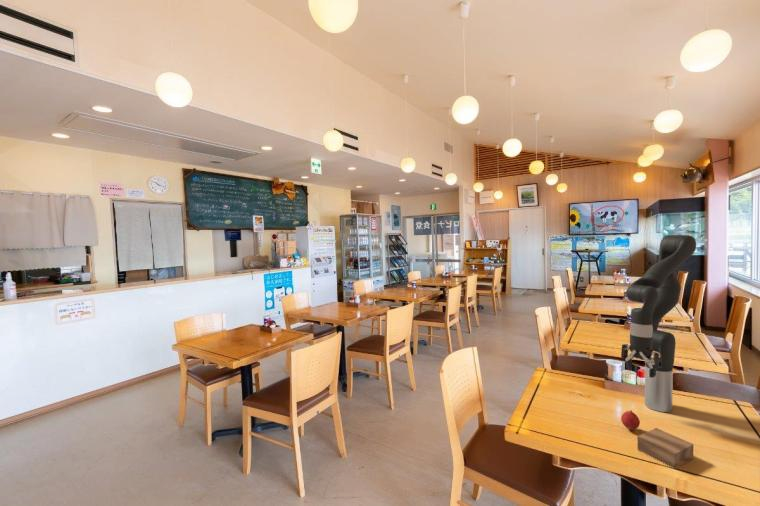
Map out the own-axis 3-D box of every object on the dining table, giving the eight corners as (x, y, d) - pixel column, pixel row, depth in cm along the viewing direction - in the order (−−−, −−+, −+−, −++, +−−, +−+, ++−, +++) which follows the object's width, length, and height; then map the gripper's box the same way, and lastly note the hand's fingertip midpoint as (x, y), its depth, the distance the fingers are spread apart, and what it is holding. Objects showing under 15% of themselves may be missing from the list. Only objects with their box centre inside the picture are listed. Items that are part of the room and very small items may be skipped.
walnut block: (655, 441, 127) (656, 427, 127) (693, 458, 117) (693, 444, 117) (637, 450, 123) (637, 436, 122) (674, 468, 113) (674, 453, 112)
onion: (617, 426, 137) (617, 406, 137) (631, 425, 138) (631, 405, 137) (629, 434, 132) (629, 414, 131) (643, 433, 132) (643, 413, 132)
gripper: (666, 337, 138) (665, 378, 139) (629, 329, 151) (628, 366, 152) (654, 339, 135) (653, 381, 136) (617, 331, 148) (616, 369, 149)
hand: (640, 373), depth 144 cm, fingers open, 8 cm apart
